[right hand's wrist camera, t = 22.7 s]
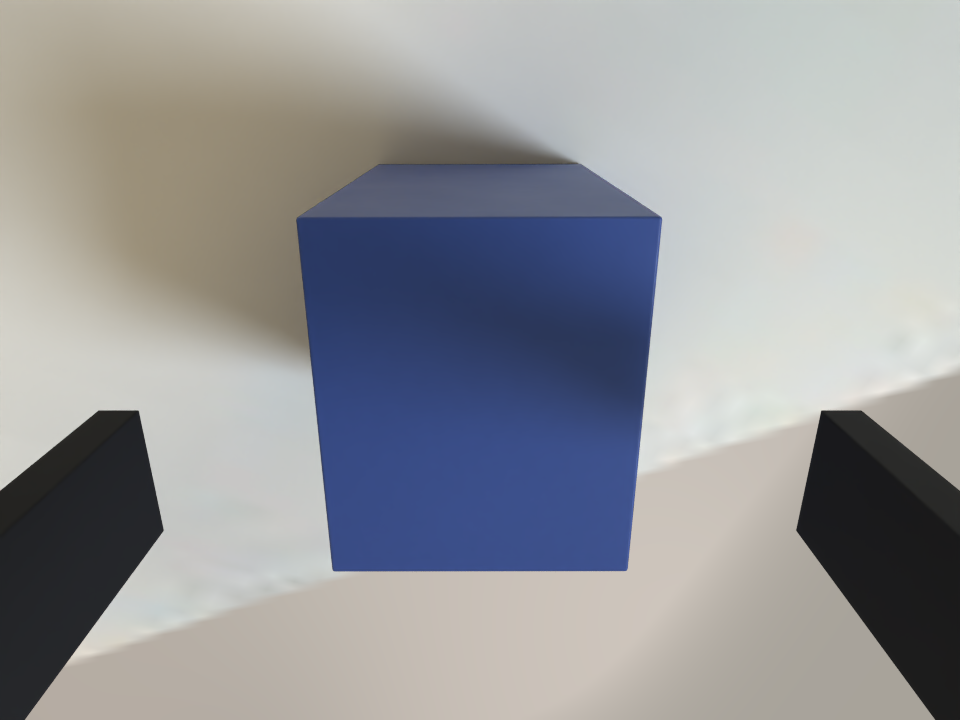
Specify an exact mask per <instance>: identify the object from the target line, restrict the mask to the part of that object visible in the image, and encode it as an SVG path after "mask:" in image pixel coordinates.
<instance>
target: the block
mask: <svg viewBox="0 0 960 720" xmlns="http://www.w3.org/2000/svg"><path fill="white" fill-rule="evenodd" d="M296 221H297V231H298V241H299V250H300V260H301V270H302V279H303V289H304V299H305V308H306V318H307V328H308V337H309V347H310V357H311V366H312V376H313V386H314V395H315V405H316V415H317V424H318V434H319V444H320V453H321V463H322V473H323V482H324V492H325V502H326V511H327V521H328V530H329V540H330V550H331V559H332V569H333V571H626V570H627V568H628V559H629V549H630V539H631V529H632V518H633V508H634V498H635V488H636V478H637V468H638V458H639V448H640V438H641V428H642V417H643V407H644V397H645V387H646V377H647V367H648V357H649V347H650V336H651V326H652V316H653V306H654V296H655V286H656V276H657V266H658V256H659V245H660V235H661V225H662V218H661V217H660V216H659V215H657V214H656V213H654V212H653V211H651V210H650V209H648V208H647V207H645V206H644V205H642V204H641V203H639V202H638V201H636V200H635V199H633V198H632V197H630V196H629V195H627V194H625V193H624V192H622V191H621V190H619V189H618V188H616V187H615V186H613V185H612V184H610V183H609V182H607V181H606V180H604V179H603V178H601V177H600V176H598V175H597V174H595V173H594V172H592V171H591V170H589V169H588V168H586V167H584V166H583V165H581V164H379V165H377V166H376V167H374V168H373V169H371V170H369V171H368V172H366V173H365V174H363V175H362V176H360V177H359V178H357V179H356V180H354V181H353V182H351V183H350V184H348V185H346V186H345V187H343V188H342V189H340V190H339V191H337V192H336V193H334V194H333V195H331V196H330V197H328V198H327V199H325V200H324V201H322V202H320V203H319V204H317V205H316V206H314V207H313V208H311V209H310V210H308V211H307V212H305V213H304V214H302V215H301V216H299V217H297V220H296Z"/></svg>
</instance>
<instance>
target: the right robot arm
mask: <svg viewBox="0 0 960 720" xmlns="http://www.w3.org/2000/svg"><path fill="white" fill-rule="evenodd" d="M163 531H164V529H163V525H162V520H161V515H160V510H159V506H158V501H157V496H156V491H155V487H154V482H153V477H152V472H151V467H150V463H149V458H148V453H147V448H146V444H145V439H144V434H143V429H142V425H141V420H140V415H139V411H98V412H96V413H95V414H94V415H93V416H92V417H90V418H89V419H88V420H87V421H85V422H84V423H83V424H82V425H80V426H79V427H78V428H77V429H76V430H74V431H73V432H72V433H71V434H69V435H68V436H67V437H66V438H64V439H63V440H62V441H61V442H60V443H58V444H57V445H56V446H55V447H53V448H52V449H51V450H50V451H49V452H47V453H46V454H45V455H44V456H42V457H41V458H40V459H39V460H37V461H36V462H35V463H34V464H33V465H31V466H30V467H29V468H28V469H26V470H25V471H24V472H23V473H22V474H20V475H19V476H18V477H17V478H15V479H14V480H13V481H12V482H10V483H9V484H8V485H7V486H6V487H4V488H3V489H2V490H1V491H0V720H25V719H26V717H27V716H28V715H29V713H30V712H31V710H32V709H33V708H34V706H35V705H36V704H37V702H38V701H39V700H40V698H41V697H42V695H43V694H44V693H45V691H46V690H47V689H48V687H49V686H50V685H51V683H52V682H53V681H54V679H55V678H56V676H57V675H58V674H59V672H60V671H61V670H62V668H63V667H64V666H65V664H66V663H67V661H68V660H69V659H70V657H71V656H72V655H73V653H74V652H75V651H76V649H77V648H78V647H79V645H80V644H81V642H82V641H83V640H84V638H85V637H86V636H87V634H88V633H89V632H90V630H91V629H92V627H93V626H94V625H95V623H96V622H97V621H98V619H99V618H100V617H101V615H102V614H103V612H104V611H105V610H106V608H107V607H108V606H109V604H110V603H111V602H112V600H113V599H114V598H115V596H116V595H117V593H118V592H119V591H120V589H121V588H122V587H123V585H124V584H125V583H126V581H127V580H128V578H129V577H130V576H131V574H132V573H133V572H134V570H135V569H136V568H137V566H138V565H139V563H140V562H141V561H142V559H143V558H144V557H145V555H146V554H147V553H148V551H149V550H150V549H151V547H152V546H153V544H154V543H155V542H156V540H157V539H158V538H159V536H160V535H161V534H162V532H163ZM796 531H797V532H798V534H799V535H800V536H801V538H802V539H803V540H804V542H805V543H806V544H807V546H808V547H809V549H810V550H811V551H812V553H813V554H814V555H815V557H816V558H817V559H818V561H819V562H820V563H821V565H822V566H823V568H824V569H825V570H826V572H827V573H828V574H829V576H830V577H831V578H832V580H833V581H834V583H835V584H836V585H837V587H838V588H839V589H840V591H841V592H842V593H843V595H844V596H845V597H846V599H847V600H848V602H849V603H850V604H851V606H852V607H853V608H854V610H855V611H856V612H857V614H858V615H859V616H860V618H861V619H862V621H863V622H864V623H865V625H866V626H867V627H868V629H869V630H870V632H871V633H872V634H873V636H874V637H875V638H876V640H877V641H878V642H879V644H880V645H881V647H882V648H883V649H884V651H885V652H886V653H887V655H888V656H889V657H890V659H891V660H892V661H893V663H894V664H895V666H896V667H897V668H898V669H899V671H900V672H901V674H902V675H903V676H904V678H905V679H906V681H907V682H908V683H909V685H910V686H911V687H912V689H913V690H914V691H915V693H916V694H917V695H918V697H919V698H920V700H921V701H922V702H923V704H924V705H925V706H926V708H927V709H928V710H929V712H930V713H931V715H932V716H933V717H934V719H935V720H960V491H959V490H958V489H957V488H956V487H954V486H953V485H952V484H951V483H950V482H948V481H947V480H946V479H945V478H943V477H942V476H941V475H940V474H938V473H937V472H936V471H935V470H934V469H932V468H931V467H930V466H929V465H927V464H926V463H925V462H924V461H923V460H921V459H920V458H919V457H918V456H916V455H915V454H914V453H913V452H911V451H910V450H909V449H908V448H906V447H905V446H904V445H903V444H902V443H900V442H899V441H898V440H897V439H896V438H894V437H893V436H892V435H891V434H889V433H888V432H887V431H886V430H884V429H883V428H882V427H881V426H880V425H878V424H877V423H876V422H875V421H873V420H872V419H871V418H870V417H868V416H867V415H866V414H865V413H864V412H862V411H821V415H820V420H819V424H818V429H817V434H816V439H815V444H814V448H813V453H812V458H811V463H810V467H809V472H808V477H807V482H806V487H805V491H804V496H803V501H802V506H801V510H800V515H799V520H798V525H797V529H796Z"/></svg>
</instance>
